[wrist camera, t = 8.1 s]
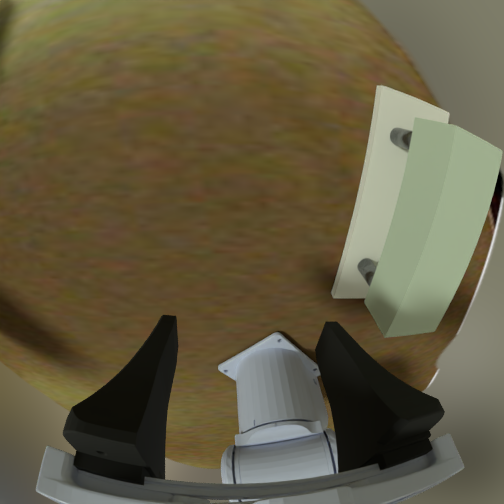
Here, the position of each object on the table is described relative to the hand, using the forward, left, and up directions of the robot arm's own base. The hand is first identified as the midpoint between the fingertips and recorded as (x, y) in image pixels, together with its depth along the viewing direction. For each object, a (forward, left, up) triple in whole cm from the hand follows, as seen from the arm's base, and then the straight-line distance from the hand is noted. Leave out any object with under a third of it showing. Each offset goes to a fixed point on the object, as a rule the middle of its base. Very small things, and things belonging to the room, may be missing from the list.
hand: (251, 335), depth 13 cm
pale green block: (-5, -12, -6) cm, 14 cm away
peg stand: (-5, -12, -10) cm, 16 cm away
